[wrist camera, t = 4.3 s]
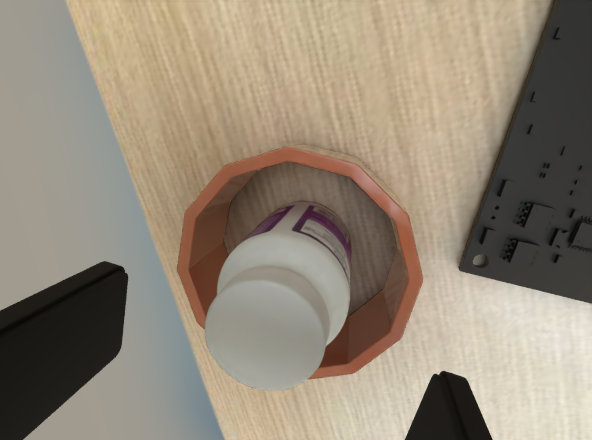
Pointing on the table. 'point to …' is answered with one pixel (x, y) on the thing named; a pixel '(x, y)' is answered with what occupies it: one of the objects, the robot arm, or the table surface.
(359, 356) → the terracotta faceted ring
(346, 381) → the table surface
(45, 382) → the robot arm
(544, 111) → the circuit board
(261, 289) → the pill bottle
